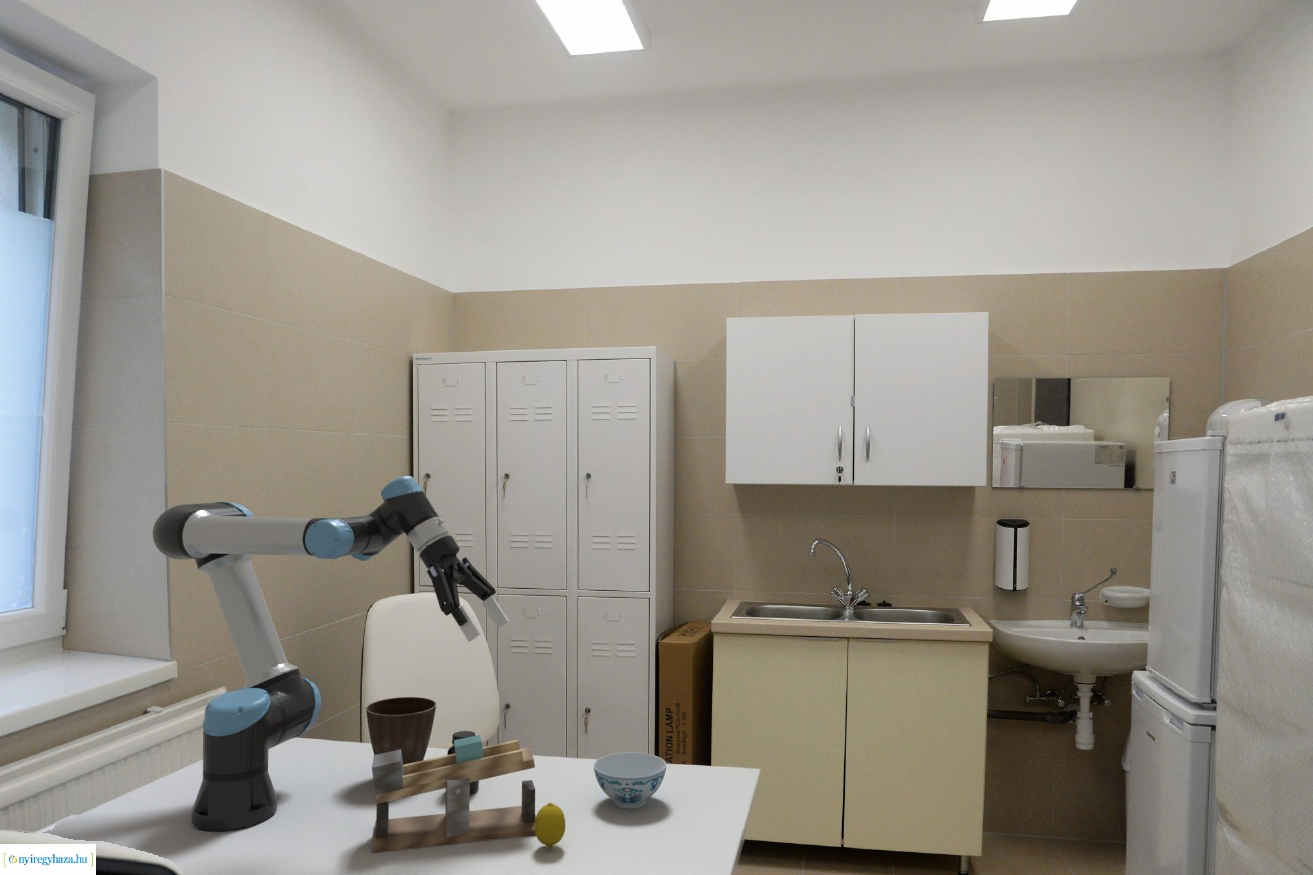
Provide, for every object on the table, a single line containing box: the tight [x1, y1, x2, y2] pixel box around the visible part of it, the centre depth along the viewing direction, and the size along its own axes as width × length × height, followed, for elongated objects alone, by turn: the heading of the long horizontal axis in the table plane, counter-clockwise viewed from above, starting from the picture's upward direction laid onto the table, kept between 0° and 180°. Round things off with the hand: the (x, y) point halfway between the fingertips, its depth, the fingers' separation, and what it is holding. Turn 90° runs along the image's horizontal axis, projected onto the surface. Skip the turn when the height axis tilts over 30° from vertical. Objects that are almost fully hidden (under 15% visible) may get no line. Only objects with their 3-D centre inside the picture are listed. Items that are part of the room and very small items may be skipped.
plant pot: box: [365, 696, 437, 765], centre depth 190 cm, size 15×15×16 cm
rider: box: [454, 734, 484, 763], centre depth 164 cm, size 5×4×5 cm
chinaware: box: [593, 751, 667, 809], centre depth 177 cm, size 15×15×8 cm
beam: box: [371, 739, 536, 805], centre depth 163 cm, size 29×7×7 cm, turn 105°
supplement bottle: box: [446, 730, 480, 796], centre depth 183 cm, size 7×7×12 cm
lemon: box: [535, 802, 566, 849], centre depth 155 cm, size 6×6×8 cm
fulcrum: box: [371, 778, 537, 854], centre depth 163 cm, size 30×12×11 cm, turn 105°
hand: (490, 631), depth 172 cm, fingers open, 13 cm apart
